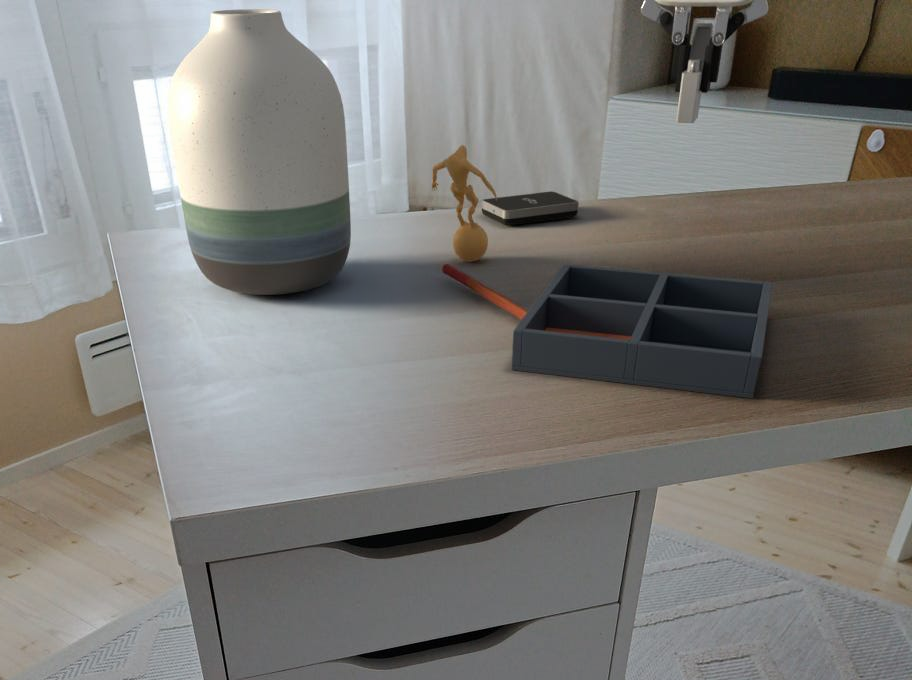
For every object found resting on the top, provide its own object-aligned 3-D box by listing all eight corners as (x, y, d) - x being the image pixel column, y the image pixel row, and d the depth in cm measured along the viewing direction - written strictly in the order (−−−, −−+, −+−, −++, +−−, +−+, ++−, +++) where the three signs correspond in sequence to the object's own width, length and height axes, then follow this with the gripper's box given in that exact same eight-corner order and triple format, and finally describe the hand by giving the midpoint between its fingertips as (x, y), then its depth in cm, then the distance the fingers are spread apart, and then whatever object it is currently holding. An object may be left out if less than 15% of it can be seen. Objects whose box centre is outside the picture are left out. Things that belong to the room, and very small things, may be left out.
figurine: (510, 262, 103) (515, 143, 96) (481, 275, 99) (484, 153, 92) (449, 251, 107) (450, 135, 100) (419, 263, 103) (417, 144, 96)
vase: (322, 252, 107) (303, 3, 92) (378, 293, 95) (366, 13, 80) (178, 271, 101) (133, 9, 87) (219, 317, 89) (174, 21, 74)
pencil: (439, 266, 97) (446, 260, 97) (443, 274, 98) (450, 269, 98) (540, 326, 84) (548, 319, 84) (544, 335, 85) (552, 328, 85)
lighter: (693, 123, 92) (706, 28, 87) (675, 122, 93) (687, 28, 88) (701, 112, 97) (714, 22, 93) (684, 112, 98) (696, 22, 93)
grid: (764, 318, 88) (772, 282, 86) (752, 398, 73) (762, 357, 71) (561, 298, 93) (563, 263, 91) (511, 370, 78) (513, 330, 76)
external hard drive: (579, 218, 118) (580, 202, 117) (504, 228, 115) (504, 211, 114) (551, 207, 123) (552, 191, 122) (478, 216, 120) (479, 199, 119)
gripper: (818, -147, 83) (775, 88, 94) (643, -141, 87) (622, 84, 98) (816, -153, 77) (770, 98, 89) (630, -145, 82) (608, 93, 93)
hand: (692, 89), depth 93 cm, fingers closed on lighter, 1 cm apart
